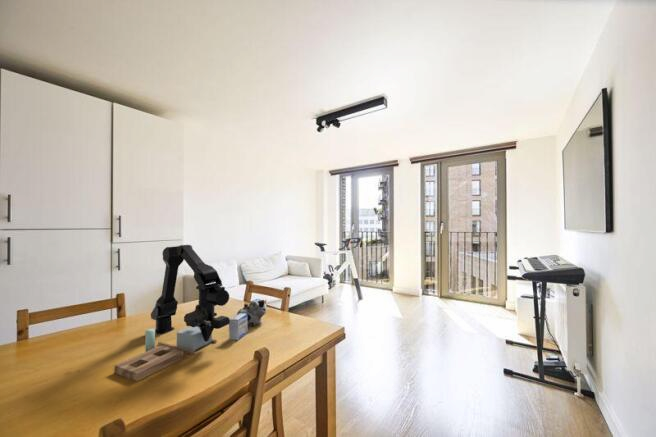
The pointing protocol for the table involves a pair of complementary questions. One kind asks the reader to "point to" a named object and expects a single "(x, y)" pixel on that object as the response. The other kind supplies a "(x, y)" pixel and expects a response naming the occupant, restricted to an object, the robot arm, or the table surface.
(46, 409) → the table surface
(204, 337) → the robot arm
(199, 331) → the cover
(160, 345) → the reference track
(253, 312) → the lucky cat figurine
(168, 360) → the board
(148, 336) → the teal peg
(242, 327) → the medicine box
